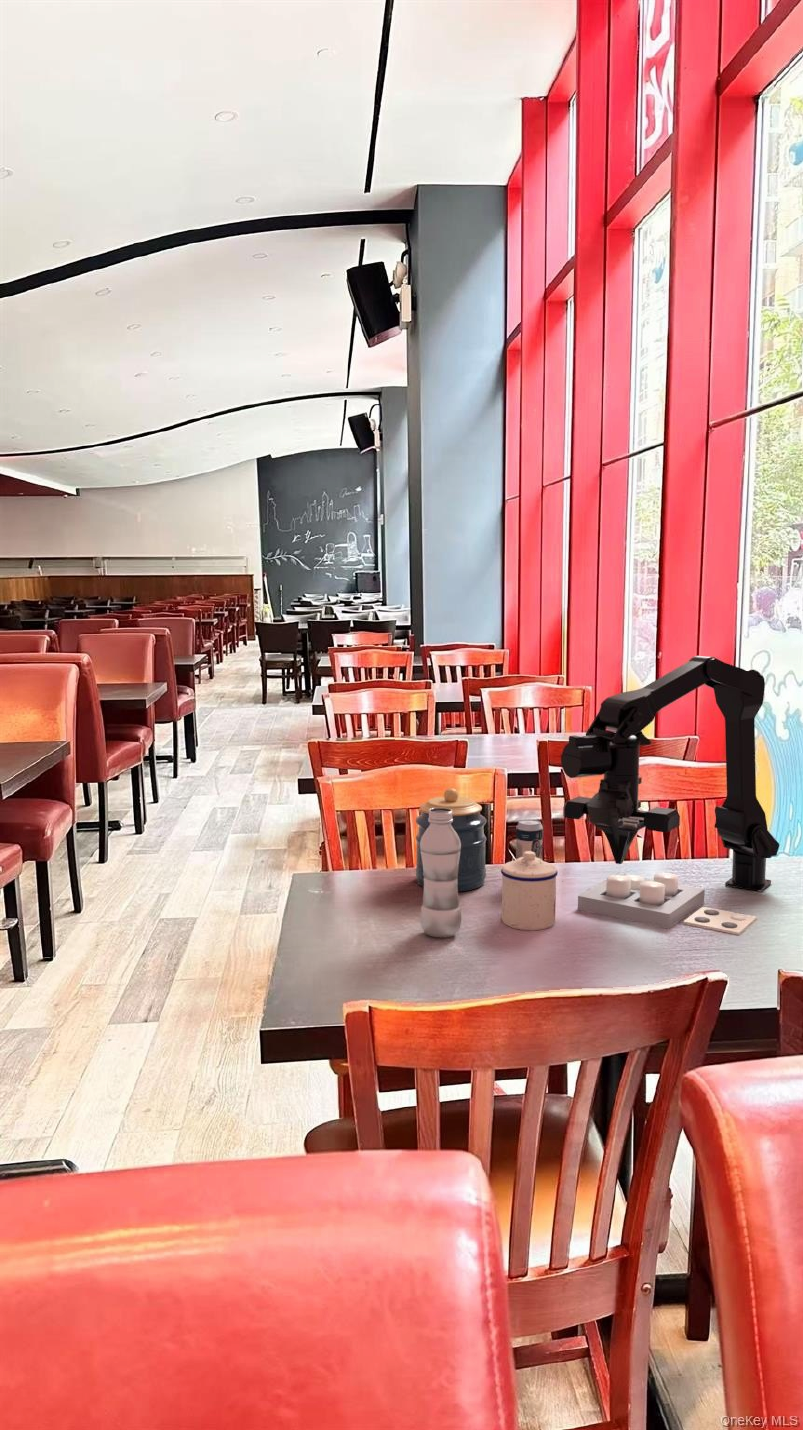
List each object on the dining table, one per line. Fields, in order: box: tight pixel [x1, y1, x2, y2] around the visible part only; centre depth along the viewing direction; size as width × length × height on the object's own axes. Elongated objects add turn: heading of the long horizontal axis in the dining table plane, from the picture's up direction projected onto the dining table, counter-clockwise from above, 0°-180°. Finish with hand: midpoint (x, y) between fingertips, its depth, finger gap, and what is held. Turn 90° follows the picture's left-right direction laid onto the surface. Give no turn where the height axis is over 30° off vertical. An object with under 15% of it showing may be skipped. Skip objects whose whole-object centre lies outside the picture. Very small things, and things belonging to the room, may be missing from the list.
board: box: [577, 873, 706, 929], centre depth 169 cm, size 16×16×2 cm
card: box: [682, 906, 758, 936], centre depth 161 cm, size 9×9×1 cm
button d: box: [639, 881, 665, 906], centre depth 165 cm, size 4×4×3 cm
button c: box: [605, 874, 631, 899], centre depth 168 cm, size 4×4×3 cm
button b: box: [653, 872, 679, 897], centre depth 170 cm, size 4×4×3 cm
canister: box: [415, 787, 487, 892], centre depth 182 cm, size 13×13×18 cm
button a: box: [625, 874, 645, 891], centre depth 173 cm, size 4×4×3 cm
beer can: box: [515, 819, 544, 860], centre depth 180 cm, size 5×5×12 cm
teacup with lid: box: [500, 851, 559, 931], centre depth 162 cm, size 12×9×12 cm
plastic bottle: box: [419, 808, 463, 938], centre depth 155 cm, size 6×7×20 cm
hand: (619, 863), depth 168 cm, fingers closed
